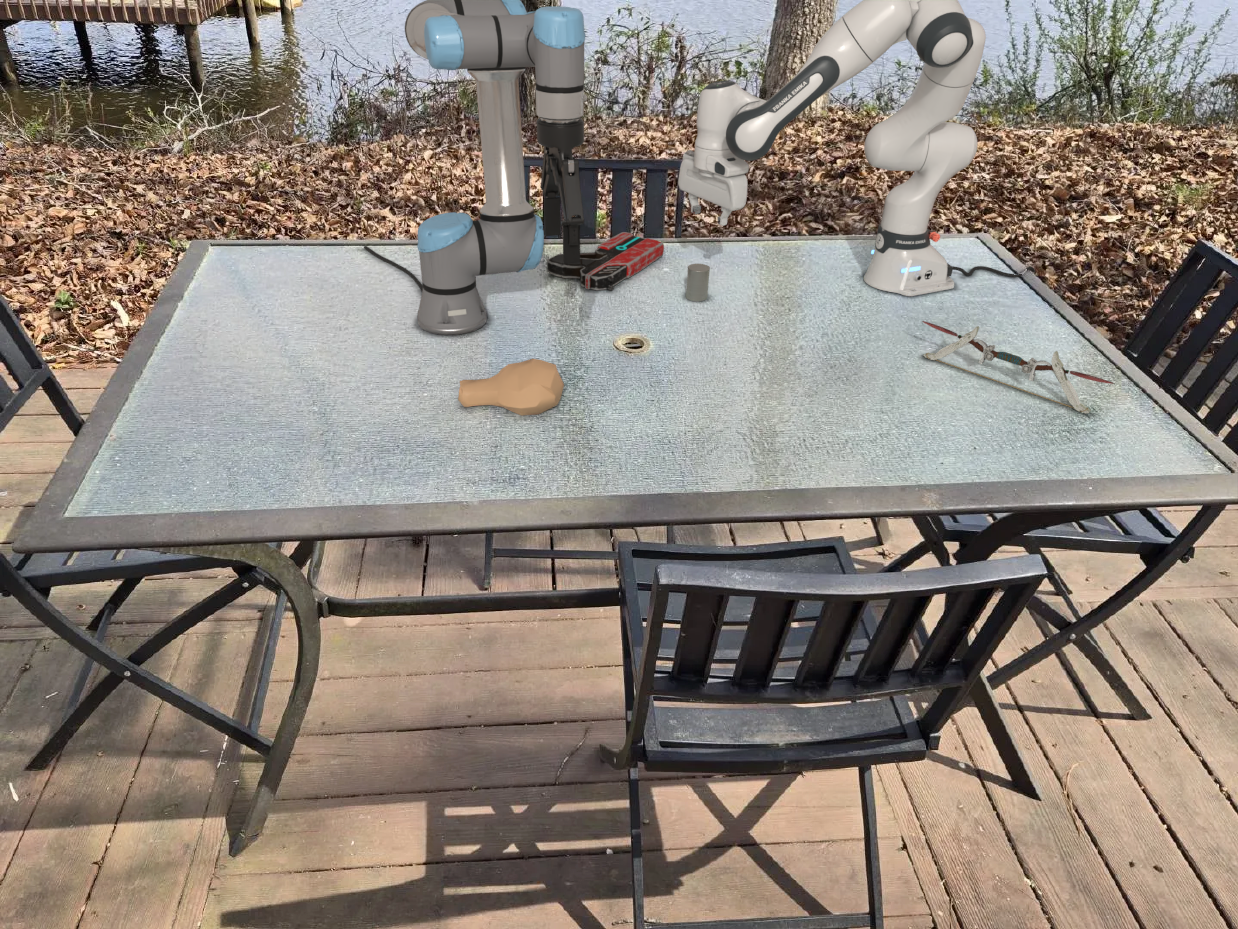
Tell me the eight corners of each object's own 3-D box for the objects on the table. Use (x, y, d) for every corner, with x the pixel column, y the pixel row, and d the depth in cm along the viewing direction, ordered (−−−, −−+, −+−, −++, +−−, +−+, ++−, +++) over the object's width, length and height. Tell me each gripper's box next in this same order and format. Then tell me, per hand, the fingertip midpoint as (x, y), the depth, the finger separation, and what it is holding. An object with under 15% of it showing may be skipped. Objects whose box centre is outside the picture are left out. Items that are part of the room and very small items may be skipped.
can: (683, 299, 211) (685, 269, 206) (688, 291, 215) (690, 262, 211) (704, 302, 209) (707, 272, 205) (709, 294, 213) (712, 265, 209)
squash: (565, 421, 162) (558, 383, 156) (459, 429, 164) (448, 392, 158) (568, 385, 170) (561, 347, 164) (467, 393, 172) (456, 356, 165)
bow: (1102, 416, 168) (1120, 369, 163) (1099, 419, 167) (1116, 372, 162) (916, 351, 190) (927, 308, 184) (912, 354, 189) (923, 311, 183)
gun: (540, 260, 217) (606, 279, 209) (606, 224, 239) (668, 240, 231) (540, 277, 220) (606, 296, 212) (605, 240, 242) (667, 256, 234)
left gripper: (604, 135, 129) (602, 272, 141) (564, 100, 149) (565, 223, 161) (555, 138, 127) (557, 276, 139) (521, 101, 147) (525, 226, 159)
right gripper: (673, 149, 203) (670, 208, 211) (733, 171, 190) (727, 233, 197) (694, 145, 206) (690, 204, 214) (754, 167, 193) (747, 228, 200)
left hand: (561, 248), depth 150 cm, fingers open, 13 cm apart
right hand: (708, 218), depth 206 cm, fingers open, 8 cm apart
